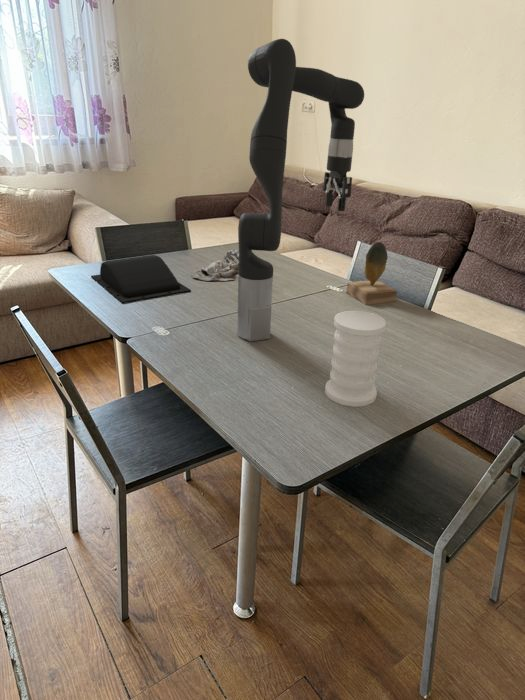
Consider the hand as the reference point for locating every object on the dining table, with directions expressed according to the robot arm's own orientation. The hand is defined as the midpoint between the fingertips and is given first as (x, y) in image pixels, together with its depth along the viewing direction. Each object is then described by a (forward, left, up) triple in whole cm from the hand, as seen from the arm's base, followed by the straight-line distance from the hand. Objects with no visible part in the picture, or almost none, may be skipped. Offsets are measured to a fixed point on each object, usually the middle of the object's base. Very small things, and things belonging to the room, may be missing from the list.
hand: (334, 208), depth 165 cm
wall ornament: (+31, +25, -30) cm, 50 cm away
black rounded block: (+26, +59, -30) cm, 71 cm away
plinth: (-8, -13, -29) cm, 33 cm away
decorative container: (-62, +28, -29) cm, 74 cm away
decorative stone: (-8, -13, -25) cm, 29 cm away
